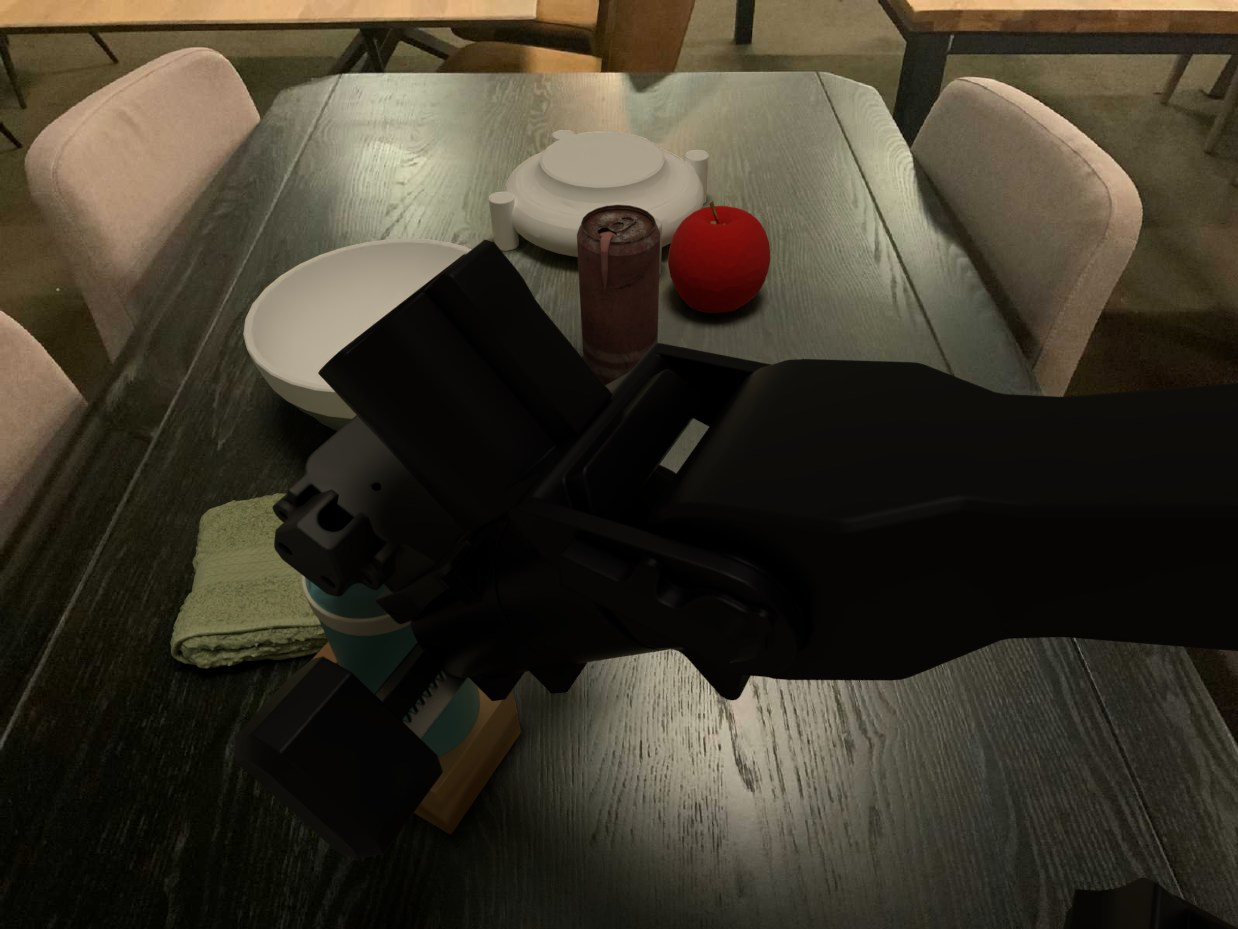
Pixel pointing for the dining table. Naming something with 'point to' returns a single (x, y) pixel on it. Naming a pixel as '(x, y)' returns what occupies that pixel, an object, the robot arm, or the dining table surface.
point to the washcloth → (243, 593)
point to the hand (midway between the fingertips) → (380, 632)
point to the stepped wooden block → (466, 760)
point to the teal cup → (385, 655)
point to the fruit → (719, 258)
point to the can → (618, 288)
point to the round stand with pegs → (595, 188)
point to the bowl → (334, 314)
